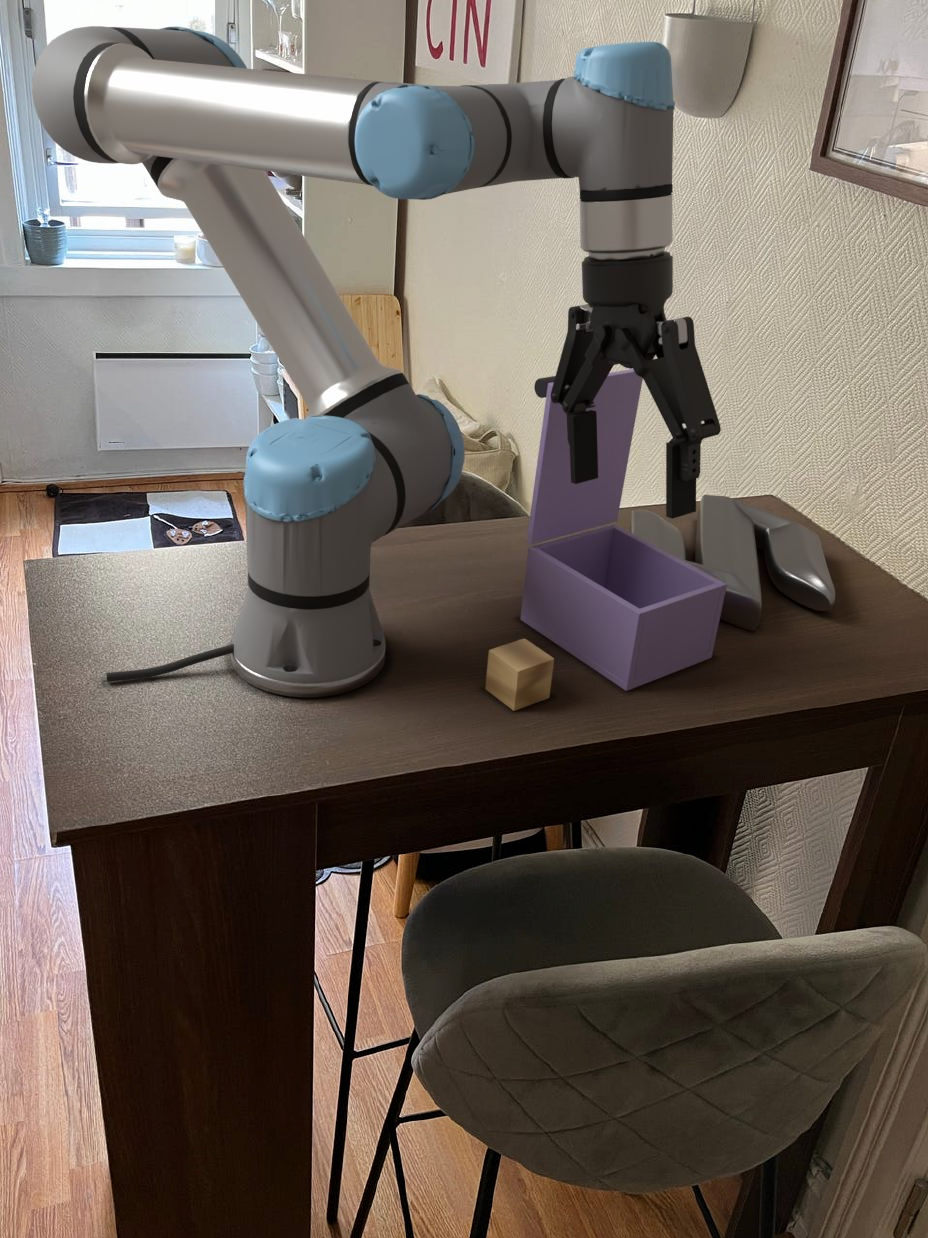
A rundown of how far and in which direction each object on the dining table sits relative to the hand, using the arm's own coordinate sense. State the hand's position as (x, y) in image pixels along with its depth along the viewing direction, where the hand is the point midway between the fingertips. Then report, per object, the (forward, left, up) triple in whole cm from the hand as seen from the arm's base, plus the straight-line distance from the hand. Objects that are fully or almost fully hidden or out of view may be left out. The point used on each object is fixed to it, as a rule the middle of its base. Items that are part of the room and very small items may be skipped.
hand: (630, 496), depth 101 cm
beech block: (-8, +3, -20) cm, 22 cm away
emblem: (+31, +11, -20) cm, 39 cm away
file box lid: (+8, +14, -2) cm, 16 cm away
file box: (+8, +6, -20) cm, 23 cm away
